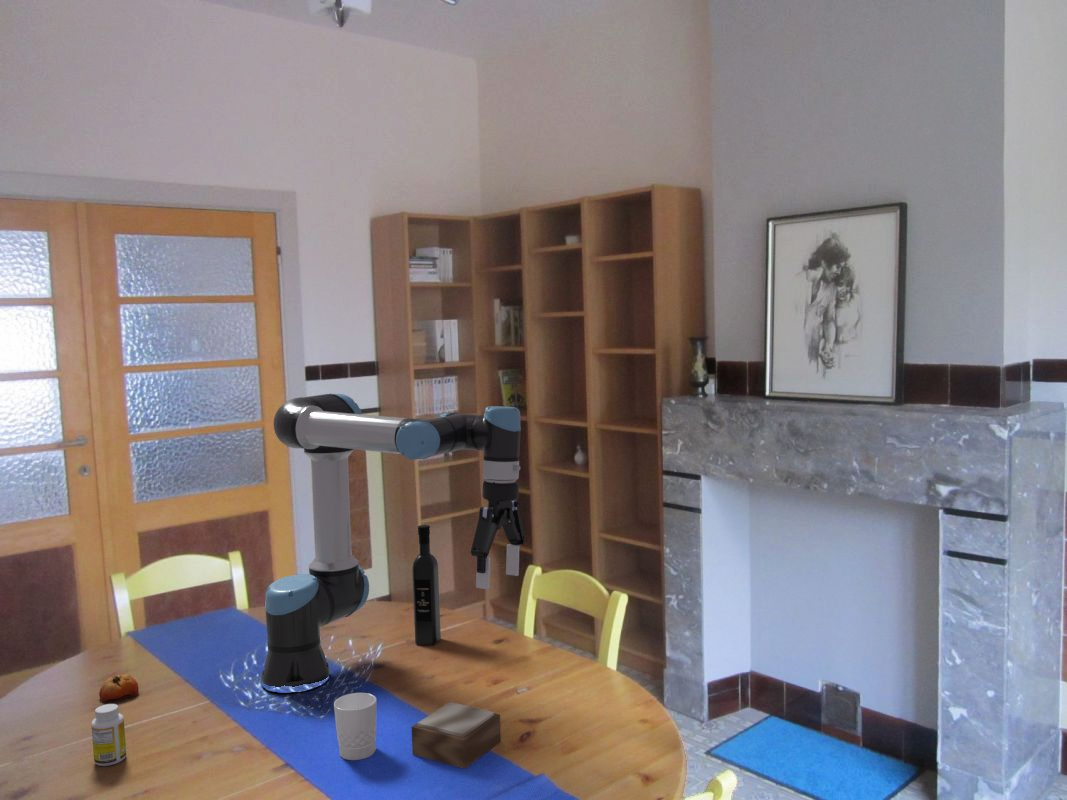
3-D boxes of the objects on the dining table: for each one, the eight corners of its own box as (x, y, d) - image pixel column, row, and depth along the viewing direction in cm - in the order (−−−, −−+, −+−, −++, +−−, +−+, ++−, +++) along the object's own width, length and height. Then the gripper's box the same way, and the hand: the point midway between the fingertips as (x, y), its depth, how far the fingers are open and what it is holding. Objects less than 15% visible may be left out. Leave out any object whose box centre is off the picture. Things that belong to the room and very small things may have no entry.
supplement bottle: (118, 750, 173) (114, 699, 172) (131, 758, 169) (128, 706, 168) (88, 761, 168) (85, 709, 168) (102, 770, 165) (98, 717, 164)
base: (412, 754, 168) (411, 723, 167) (449, 728, 178) (448, 699, 177) (465, 769, 162) (464, 737, 161) (500, 741, 172) (499, 711, 171)
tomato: (87, 693, 197) (108, 663, 200) (109, 704, 202) (129, 674, 205) (108, 706, 193) (129, 675, 196) (129, 717, 198) (150, 686, 201)
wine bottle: (435, 646, 224) (431, 528, 222) (414, 645, 225) (409, 528, 223) (441, 638, 230) (437, 523, 228) (420, 637, 231) (416, 523, 229)
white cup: (369, 763, 165) (366, 711, 164) (329, 760, 166) (326, 708, 165) (384, 744, 172) (382, 693, 171) (346, 741, 174) (344, 691, 173)
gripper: (489, 488, 173) (486, 596, 174) (541, 476, 196) (538, 571, 197) (455, 485, 177) (452, 591, 177) (511, 473, 199) (508, 567, 200)
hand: (497, 581), depth 187 cm, fingers open, 13 cm apart
